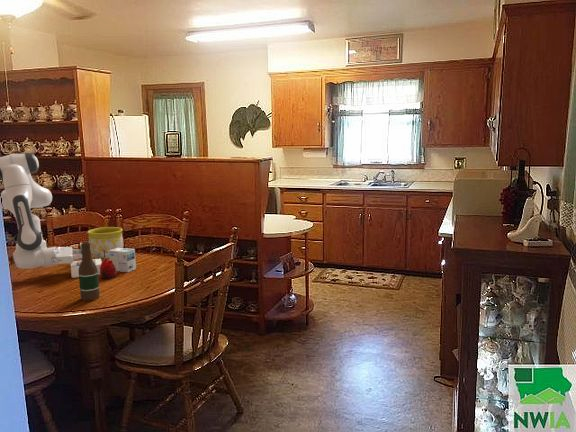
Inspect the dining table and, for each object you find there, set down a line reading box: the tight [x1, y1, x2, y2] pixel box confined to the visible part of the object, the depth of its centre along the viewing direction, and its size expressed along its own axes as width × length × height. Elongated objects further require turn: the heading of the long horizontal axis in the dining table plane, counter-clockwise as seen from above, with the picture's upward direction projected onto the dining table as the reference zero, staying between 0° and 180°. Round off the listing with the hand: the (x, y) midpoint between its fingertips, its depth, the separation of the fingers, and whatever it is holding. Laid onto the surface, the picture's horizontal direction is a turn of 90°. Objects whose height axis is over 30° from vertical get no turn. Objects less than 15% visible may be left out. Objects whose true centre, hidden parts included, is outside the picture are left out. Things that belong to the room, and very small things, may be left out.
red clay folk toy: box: [99, 249, 117, 280], centre depth 226 cm, size 8×7×15 cm
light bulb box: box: [110, 247, 137, 273], centre depth 238 cm, size 11×7×11 cm, turn 71°
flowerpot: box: [87, 226, 124, 262], centre depth 259 cm, size 18×18×16 cm
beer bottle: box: [78, 241, 100, 302], centre depth 196 cm, size 8×8×24 cm
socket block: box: [70, 259, 102, 279], centre depth 235 cm, size 12×14×5 cm
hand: (83, 253), depth 233 cm, fingers open, 8 cm apart
